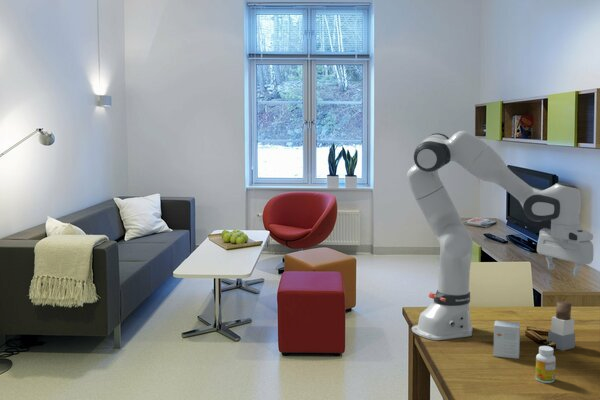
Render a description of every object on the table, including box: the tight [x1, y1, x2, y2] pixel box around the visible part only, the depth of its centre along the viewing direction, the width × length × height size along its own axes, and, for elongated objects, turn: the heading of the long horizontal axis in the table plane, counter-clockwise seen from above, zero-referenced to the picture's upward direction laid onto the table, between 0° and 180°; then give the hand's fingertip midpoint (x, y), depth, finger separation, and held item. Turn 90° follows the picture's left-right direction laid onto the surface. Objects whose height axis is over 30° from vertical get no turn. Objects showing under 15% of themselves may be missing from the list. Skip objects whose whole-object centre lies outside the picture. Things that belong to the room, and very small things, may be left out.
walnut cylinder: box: [555, 301, 572, 320], centre depth 213 cm, size 4×4×5 cm
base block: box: [547, 330, 576, 352], centre depth 214 cm, size 6×6×5 cm
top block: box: [550, 315, 575, 336], centre depth 214 cm, size 5×5×5 cm
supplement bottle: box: [534, 345, 557, 384], centre depth 187 cm, size 5×5×10 cm
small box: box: [493, 320, 521, 360], centre depth 207 cm, size 8×6×10 cm
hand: (562, 272), depth 213 cm, fingers open, 8 cm apart
